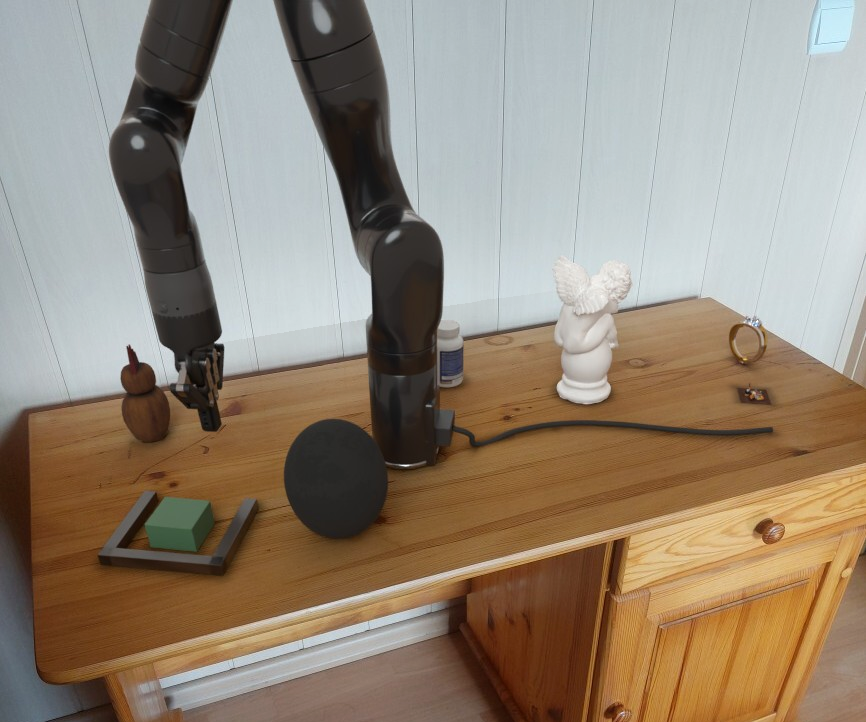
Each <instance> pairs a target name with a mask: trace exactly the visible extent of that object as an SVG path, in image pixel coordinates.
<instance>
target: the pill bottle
mask: <svg viewBox="0 0 866 722" xmlns="http://www.w3.org/2000/svg"><path fill="white" fill-rule="evenodd" d="M460 328H461V327H460V323H459V322H458V321H456V320H453V319H441V322H440V324H439V326H438V329H437V385H439V386H440V388H446V389H448V388H454V387H457V386H459V385H461V384H462V383H463V381H464V350H465V349H464V348H465V347H464V345H465V344H464V338H463V337H462V336H461V335H460Z"/></svg>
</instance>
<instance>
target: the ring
mask: <svg viewBox="0 0 866 722" xmlns="http://www.w3.org/2000/svg"><path fill="white" fill-rule="evenodd" d="M745 327H747V328H749V329H751V330H752V331H754V332H755V334H756V336H757V338H758V350H757V353H756V354H755V356H754V357H752V358H748V357H747V356H745V355H742V354H741V353H740V352H739V349H738V347H737V343H736V342H737V341H736V340H737V339H736V338H737V335H738V332H739V330H740V329H741V328H745ZM768 339H769V338H768V334H767V331H766V329H765V327H764V325H763V321H762V320H760V317H757V315H753V317H749V315H745V319H742V320H740V321H739V322H738V323H736V324H734V325H732V327H731V328H730V330H729V333H728V344H729V349H730V351H731V353H732V356H733V357H734V358H735V359H736V360H737V361H738V363H739V364H745V365H746V364H748V365H749V364H752V363H756V362H758V361H759V360H760V359H761V358H762V357H763V356H764V354H765V352H766V350H767V347H768V342H769V341H768Z"/></svg>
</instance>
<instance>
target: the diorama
mask: <svg viewBox="0 0 866 722" xmlns="http://www.w3.org/2000/svg"><path fill="white" fill-rule="evenodd" d="M751 385H752V383H751V382H748V385H747V388H746V387H736V388H737V393H738V397H739V400H740V403H745V404H758V405H759V404H760V405H772V402H771V399H770V397H769V394H768V390H767V389H765V388H764V389H761V388H752V387H751Z"/></svg>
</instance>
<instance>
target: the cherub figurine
mask: <svg viewBox="0 0 866 722" xmlns="http://www.w3.org/2000/svg"><path fill="white" fill-rule="evenodd" d="M554 264H555V265H554V266H552V271H553V272H554V273H553V277H554V278H555V279H554V282H555V283H556V286H555V290H556V294H557V295H558V299H559V300H561V302H563V304H562V305H561V308H560V312H559V316H558V319H557V322H556V324H555V326H554V331H553V332H554V334H553V341H554V343H555V345H556V346H557V347H558V348H563V349H562V352H561V356H560V364H561V365H560V366H561V369H562V372H563V373H562V375H561V379H560V380H559V381H558V383H557V385H556V391H557V393H558V395H559V397H560V398H561V399H563V400H567V401H570V402H572V403H575V404H582V405H591V404H595V403H601V402H602V401H604V400H606V399H607V398H609V396H610V394H611V391H612V387H611V384H610V383H609V382H608V375H607V374H608V372H609V371H610V368H611V365H612V362H613V351H612V350H613V349H618V348H619V347H620V345H619V340H618V332H617V331H618V330H617V328H616V327H617V326H616V325H615V319H614V316H613V314H618V312H619V304H621V303H622V301H623V300H625V299H626V298H627V297H628V294H629V293H630V292H631V288H632V287H633V281H632V278H631V269H630V267H629V266H628V265H627V264H626V263H624V262H621V261H619V260H616V259H613V260H609V261H606V262H605V263H602V266H601V268H599V269H598V272H597V274H593V275H589V273H588V271H587V270H586V269H585V268H584V267H582V266H581V265H580V264H578V263H576V262H572V261H571V260H569V259H568V258H566V256H564V255H562V254H560V256H558V259H557V260H554Z"/></svg>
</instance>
